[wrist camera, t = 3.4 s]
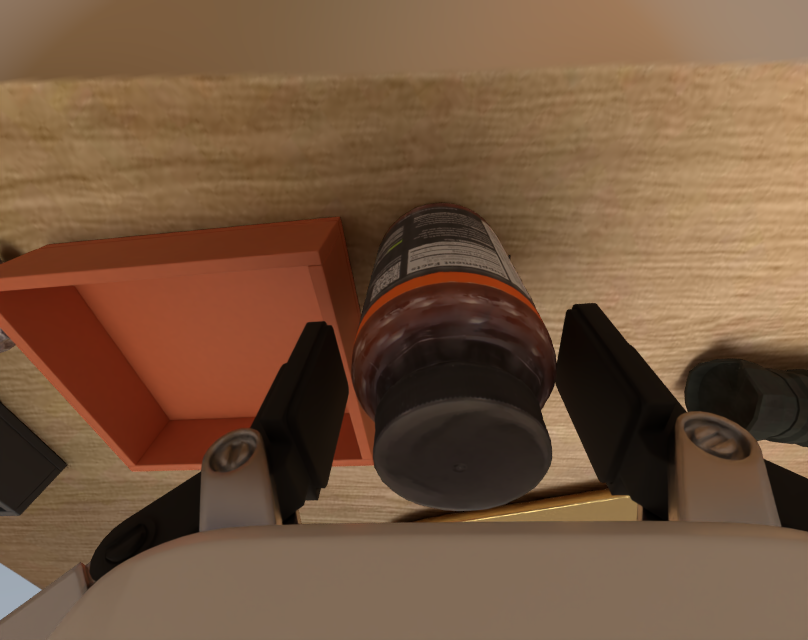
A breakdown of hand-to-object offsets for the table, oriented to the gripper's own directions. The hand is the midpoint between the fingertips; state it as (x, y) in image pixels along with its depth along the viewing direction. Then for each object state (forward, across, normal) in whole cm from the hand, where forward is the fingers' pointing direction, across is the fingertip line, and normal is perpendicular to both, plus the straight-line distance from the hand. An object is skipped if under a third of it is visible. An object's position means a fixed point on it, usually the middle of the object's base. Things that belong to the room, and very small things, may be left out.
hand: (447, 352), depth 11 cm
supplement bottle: (+7, 0, 0) cm, 7 cm away
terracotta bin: (+7, +12, +4) cm, 15 cm away
